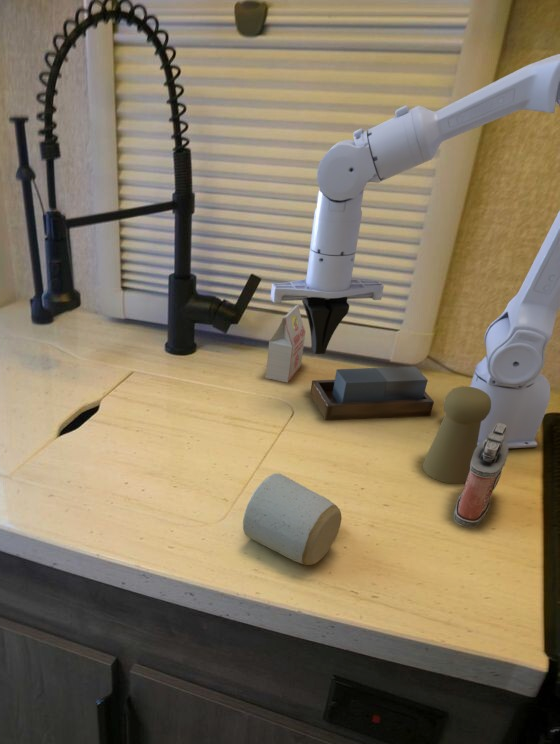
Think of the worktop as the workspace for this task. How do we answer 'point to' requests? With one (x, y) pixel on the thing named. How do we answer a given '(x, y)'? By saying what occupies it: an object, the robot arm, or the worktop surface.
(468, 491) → the lighter
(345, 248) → the robot arm
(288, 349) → the milk carton
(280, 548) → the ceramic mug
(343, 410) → the brown wooden tray
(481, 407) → the olive pawn piece
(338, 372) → the blue gray block
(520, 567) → the worktop surface
